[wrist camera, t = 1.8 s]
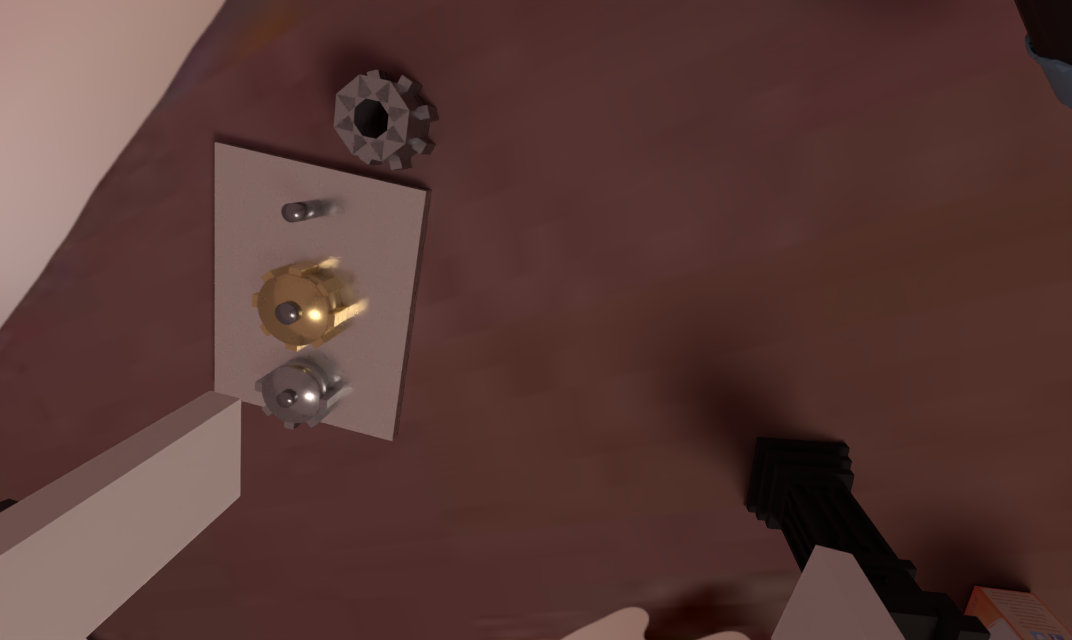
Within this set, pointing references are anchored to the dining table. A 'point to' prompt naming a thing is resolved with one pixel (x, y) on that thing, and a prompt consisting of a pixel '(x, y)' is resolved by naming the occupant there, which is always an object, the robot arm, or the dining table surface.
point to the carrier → (315, 289)
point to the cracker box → (1015, 615)
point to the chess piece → (845, 532)
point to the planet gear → (363, 114)
